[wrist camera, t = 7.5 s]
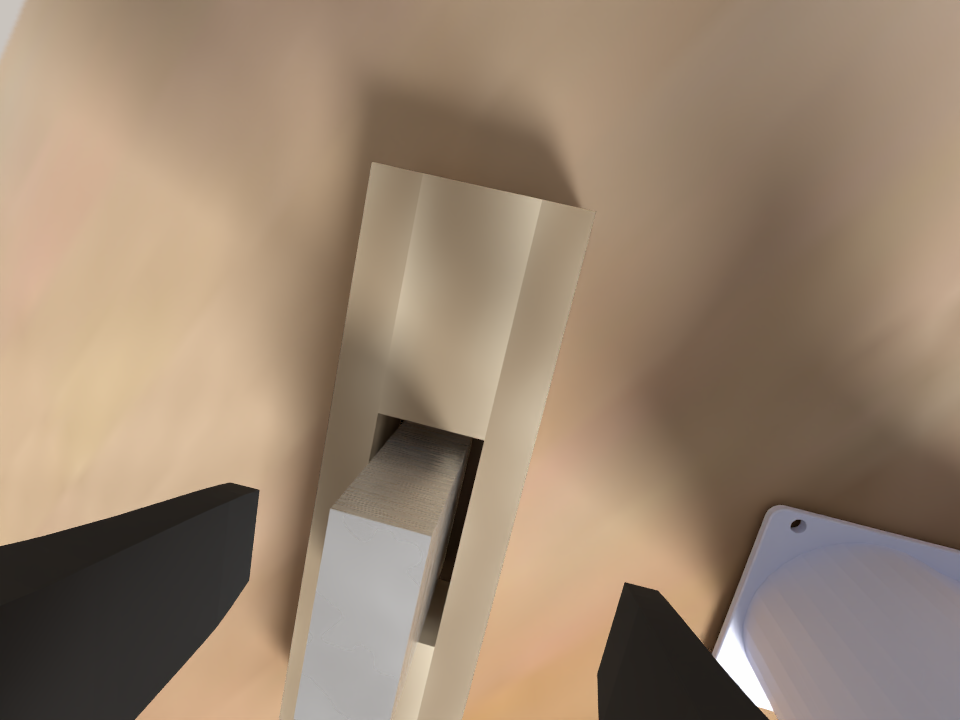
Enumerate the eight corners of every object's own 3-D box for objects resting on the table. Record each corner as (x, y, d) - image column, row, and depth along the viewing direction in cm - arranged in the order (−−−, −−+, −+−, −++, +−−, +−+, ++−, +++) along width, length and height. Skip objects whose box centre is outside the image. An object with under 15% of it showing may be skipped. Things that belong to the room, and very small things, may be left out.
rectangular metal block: (476, 423, 19) (431, 536, 11) (444, 561, 21) (383, 746, 13) (415, 407, 19) (330, 508, 12) (387, 545, 21) (293, 719, 13)
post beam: (585, 220, 17) (596, 211, 14) (451, 734, 22) (435, 821, 19) (404, 180, 18) (372, 161, 14) (311, 692, 23) (270, 769, 19)
